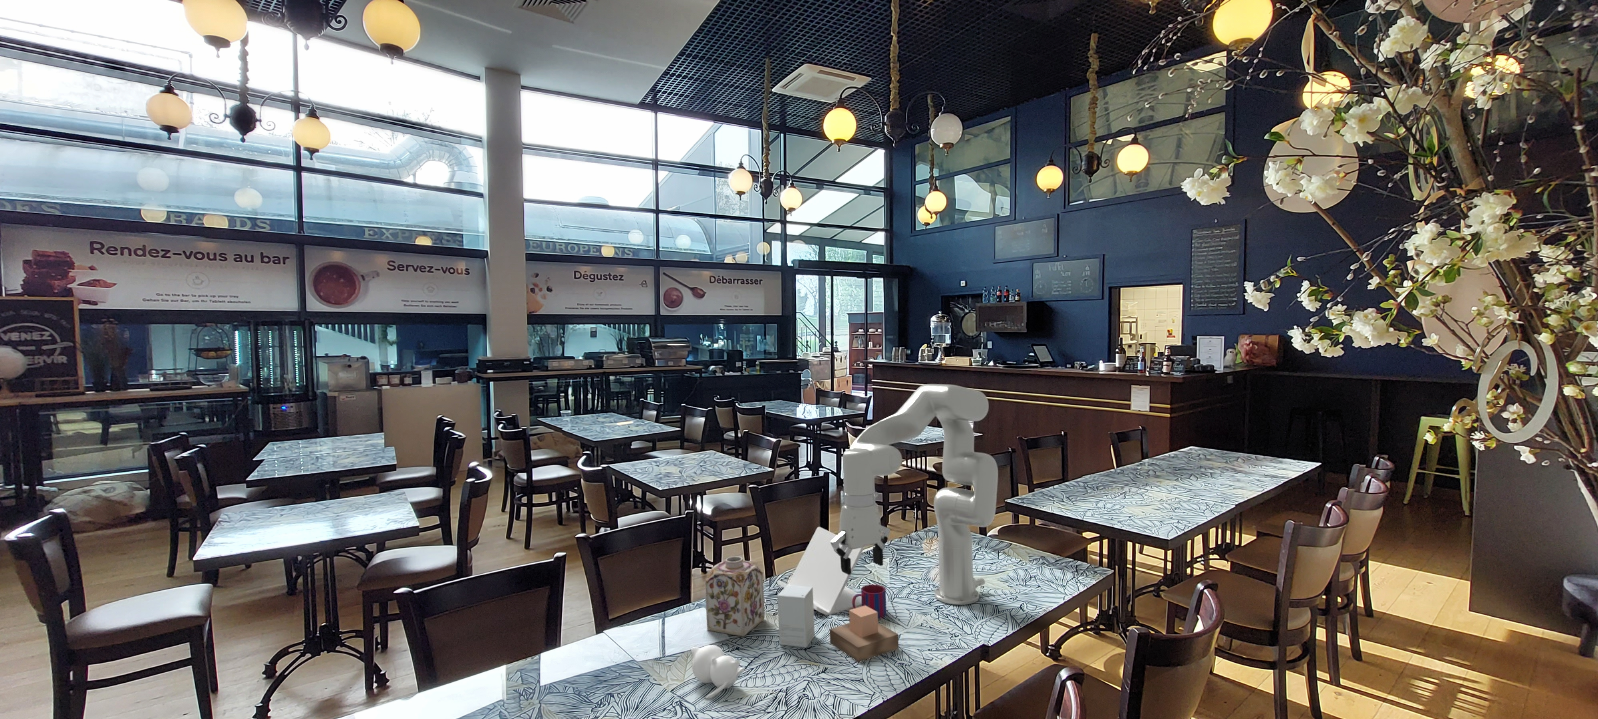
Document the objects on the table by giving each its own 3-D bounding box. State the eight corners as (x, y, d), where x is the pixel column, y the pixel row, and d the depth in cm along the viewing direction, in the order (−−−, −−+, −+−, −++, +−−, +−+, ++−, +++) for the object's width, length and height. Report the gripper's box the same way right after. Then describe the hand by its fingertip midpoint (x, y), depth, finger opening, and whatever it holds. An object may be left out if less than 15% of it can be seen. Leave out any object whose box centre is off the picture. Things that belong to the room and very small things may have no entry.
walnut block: (868, 632, 168) (868, 617, 168) (898, 650, 158) (898, 634, 158) (830, 644, 162) (829, 628, 162) (858, 664, 152) (858, 647, 152)
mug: (890, 615, 177) (890, 591, 177) (857, 622, 173) (856, 597, 173) (879, 606, 183) (878, 582, 183) (847, 612, 180) (846, 588, 179)
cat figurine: (737, 648, 141) (700, 631, 148) (707, 691, 134) (669, 672, 142) (753, 672, 145) (716, 655, 152) (724, 715, 138) (686, 695, 146)
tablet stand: (826, 577, 208) (825, 524, 207) (871, 604, 186) (870, 545, 185) (776, 589, 199) (774, 534, 199) (817, 618, 177) (814, 556, 177)
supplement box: (815, 635, 166) (814, 586, 166) (806, 648, 159) (804, 597, 159) (788, 631, 169) (786, 583, 169) (778, 644, 162) (776, 594, 162)
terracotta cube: (865, 624, 164) (865, 605, 163) (878, 632, 159) (877, 611, 159) (849, 629, 161) (849, 610, 161) (861, 637, 157) (861, 616, 157)
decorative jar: (765, 619, 177) (763, 554, 176) (744, 637, 166) (742, 568, 166) (728, 613, 182) (725, 549, 182) (705, 630, 171) (702, 562, 171)
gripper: (878, 491, 167) (880, 556, 167) (821, 502, 158) (824, 571, 159) (897, 496, 160) (899, 565, 161) (839, 508, 151) (842, 581, 152)
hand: (862, 568), depth 160 cm, fingers open, 9 cm apart
